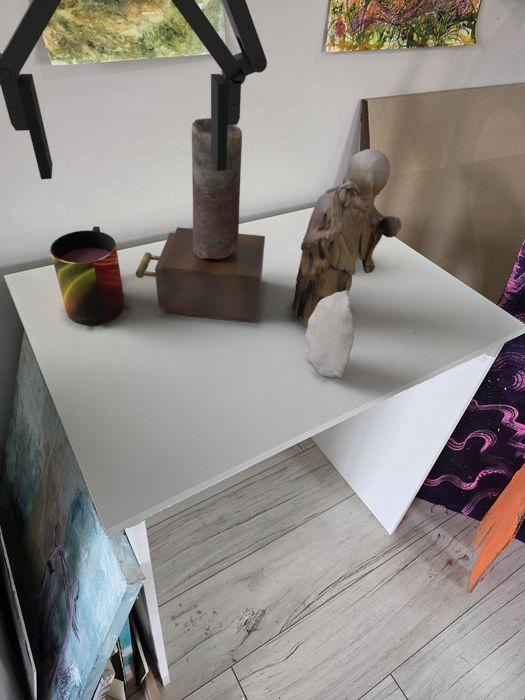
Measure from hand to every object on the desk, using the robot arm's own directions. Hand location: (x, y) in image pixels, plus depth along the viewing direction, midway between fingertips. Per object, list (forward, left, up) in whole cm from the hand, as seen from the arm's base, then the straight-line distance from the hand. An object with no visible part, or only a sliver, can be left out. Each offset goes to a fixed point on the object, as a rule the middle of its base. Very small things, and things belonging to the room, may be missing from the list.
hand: (136, 168), depth 40 cm
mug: (-19, +27, -37) cm, 50 cm away
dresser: (+2, +32, -37) cm, 49 cm away
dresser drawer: (-2, +32, -36) cm, 48 cm away
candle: (+2, +32, -27) cm, 42 cm away
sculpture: (+22, +30, -37) cm, 52 cm away
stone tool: (+21, +16, -37) cm, 45 cm away
